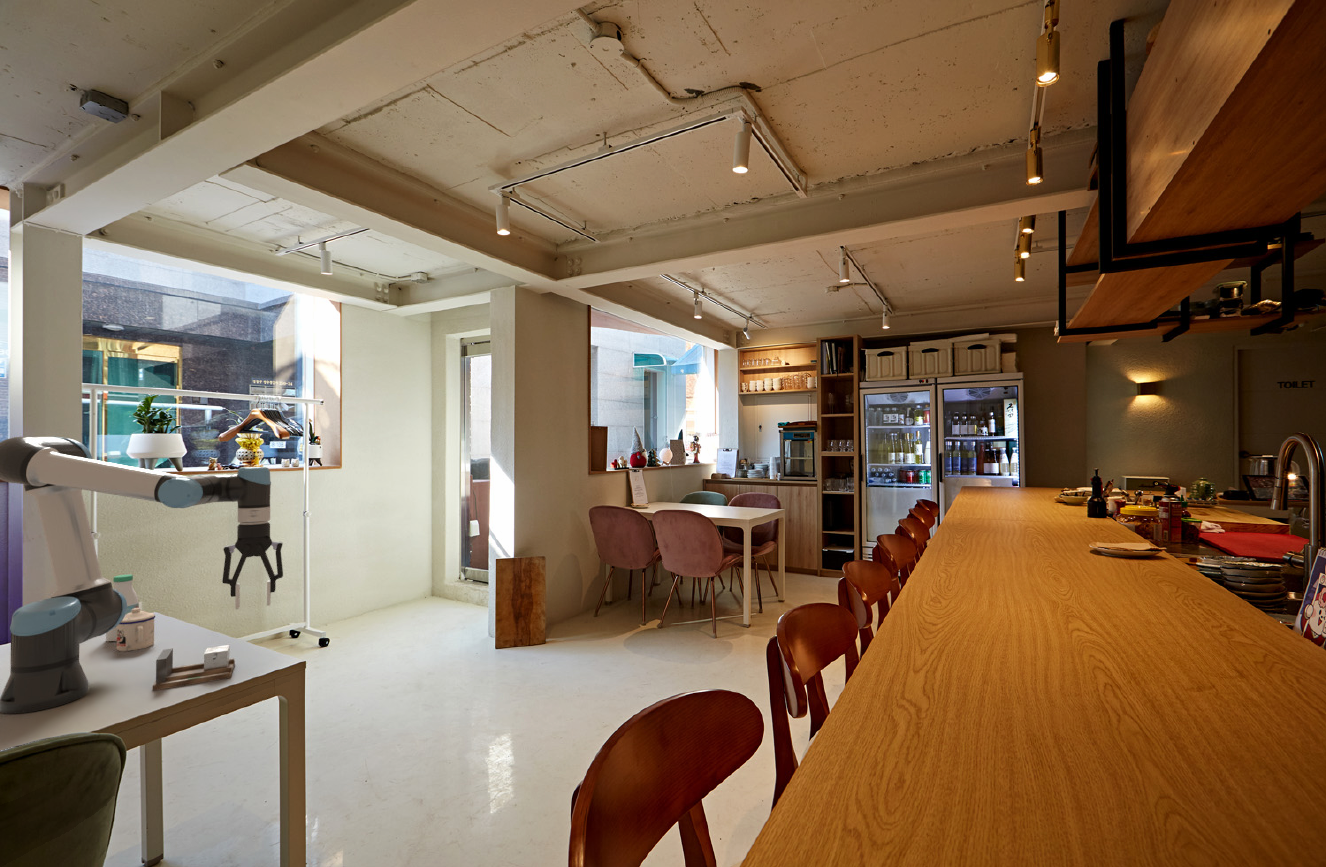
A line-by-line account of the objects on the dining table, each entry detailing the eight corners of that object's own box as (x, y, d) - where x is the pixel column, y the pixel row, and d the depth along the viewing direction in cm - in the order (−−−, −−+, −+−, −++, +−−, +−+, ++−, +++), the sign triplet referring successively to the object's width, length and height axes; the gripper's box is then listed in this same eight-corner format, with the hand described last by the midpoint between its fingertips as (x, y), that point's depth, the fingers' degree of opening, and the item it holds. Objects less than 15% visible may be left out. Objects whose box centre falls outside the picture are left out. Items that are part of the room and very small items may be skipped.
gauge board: (152, 690, 151) (152, 661, 151) (161, 676, 160) (161, 648, 160) (230, 677, 159) (231, 650, 159) (234, 664, 169) (235, 638, 169)
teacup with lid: (112, 647, 183) (113, 609, 183) (151, 640, 190) (151, 603, 190) (120, 656, 176) (121, 616, 176) (160, 648, 183) (161, 609, 183)
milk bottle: (109, 644, 186) (109, 579, 187) (103, 639, 191) (104, 576, 192) (141, 637, 193) (142, 575, 193) (134, 633, 197) (135, 572, 198)
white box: (202, 677, 156) (202, 657, 156) (206, 666, 163) (206, 648, 163) (225, 673, 158) (226, 654, 158) (229, 663, 166) (229, 644, 166)
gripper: (208, 526, 159) (207, 614, 158) (294, 521, 169) (294, 604, 168) (212, 523, 165) (211, 608, 165) (295, 518, 175) (294, 598, 175)
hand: (253, 606), depth 166 cm, fingers open, 6 cm apart
